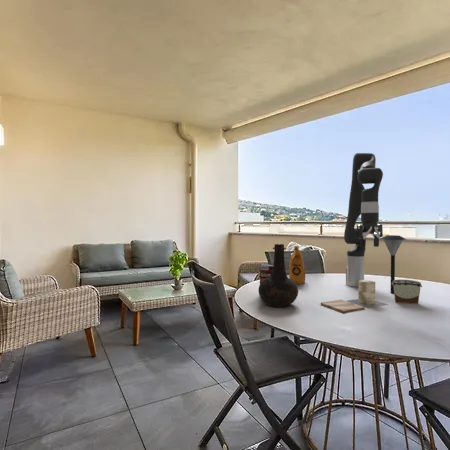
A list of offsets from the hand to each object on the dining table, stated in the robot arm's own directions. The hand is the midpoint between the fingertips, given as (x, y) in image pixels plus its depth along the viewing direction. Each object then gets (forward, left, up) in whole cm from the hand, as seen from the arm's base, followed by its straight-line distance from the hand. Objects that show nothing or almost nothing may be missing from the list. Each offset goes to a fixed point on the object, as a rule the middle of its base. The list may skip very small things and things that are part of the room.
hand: (369, 247), depth 149 cm
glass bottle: (-17, -39, -26) cm, 50 cm away
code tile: (-1, -1, -26) cm, 26 cm away
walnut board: (-1, -16, -26) cm, 31 cm away
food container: (+5, +17, -26) cm, 32 cm away
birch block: (-1, -1, -26) cm, 26 cm away
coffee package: (-53, -2, -26) cm, 59 cm away
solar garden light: (-9, +26, -26) cm, 38 cm away
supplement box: (-32, -35, -26) cm, 54 cm away
